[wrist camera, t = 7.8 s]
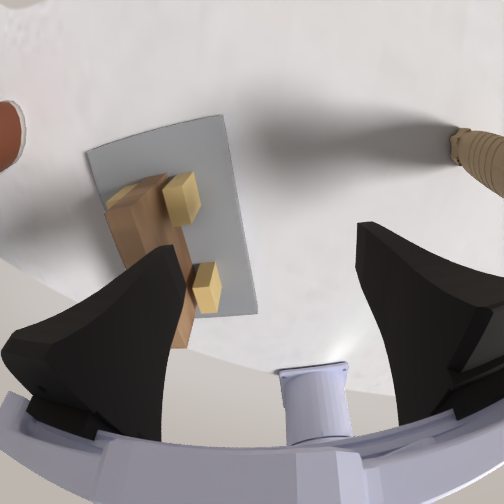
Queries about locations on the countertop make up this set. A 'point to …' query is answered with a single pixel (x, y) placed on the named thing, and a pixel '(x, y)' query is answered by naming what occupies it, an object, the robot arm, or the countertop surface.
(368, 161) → the countertop surface
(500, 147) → the handle
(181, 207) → the hinge board
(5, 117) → the coffee cup
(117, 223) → the door panel
